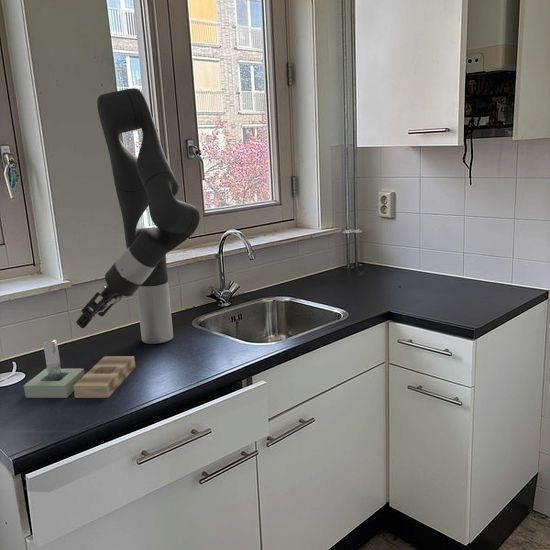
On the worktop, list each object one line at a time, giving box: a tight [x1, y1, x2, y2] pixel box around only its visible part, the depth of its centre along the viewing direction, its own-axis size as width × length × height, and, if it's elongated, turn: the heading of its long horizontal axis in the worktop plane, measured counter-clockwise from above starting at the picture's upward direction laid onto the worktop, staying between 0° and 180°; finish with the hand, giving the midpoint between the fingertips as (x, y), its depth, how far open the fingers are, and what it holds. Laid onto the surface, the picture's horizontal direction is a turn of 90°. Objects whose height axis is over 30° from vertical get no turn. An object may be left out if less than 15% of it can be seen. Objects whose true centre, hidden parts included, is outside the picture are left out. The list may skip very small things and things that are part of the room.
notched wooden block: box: [73, 355, 136, 399], centre depth 136 cm, size 18×8×3 cm, turn 174°
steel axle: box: [42, 338, 62, 381], centre depth 133 cm, size 3×3×12 cm
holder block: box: [23, 368, 86, 399], centre depth 134 cm, size 10×10×3 cm
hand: (89, 319), depth 128 cm, fingers open, 8 cm apart
